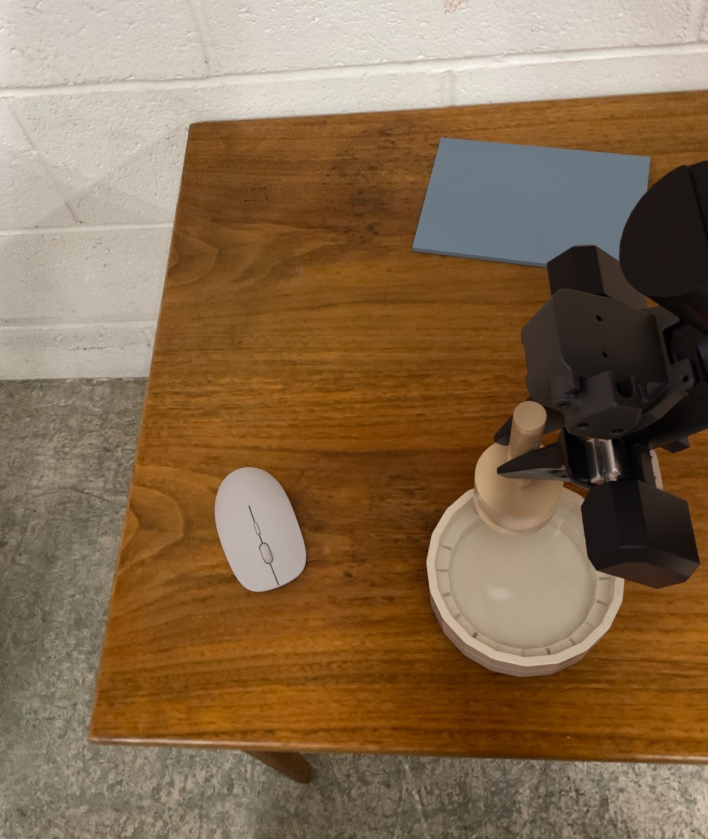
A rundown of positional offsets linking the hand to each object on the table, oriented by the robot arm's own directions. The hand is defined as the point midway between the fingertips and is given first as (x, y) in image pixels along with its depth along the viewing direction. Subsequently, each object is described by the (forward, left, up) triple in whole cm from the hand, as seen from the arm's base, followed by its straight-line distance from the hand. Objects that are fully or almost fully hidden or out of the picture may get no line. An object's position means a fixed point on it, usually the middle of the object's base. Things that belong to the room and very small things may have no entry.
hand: (499, 457), depth 49 cm
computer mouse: (+17, +4, -14) cm, 22 cm away
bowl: (-3, +4, -13) cm, 14 cm away
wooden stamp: (-1, 0, -7) cm, 7 cm away
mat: (+1, -32, -13) cm, 35 cm away
